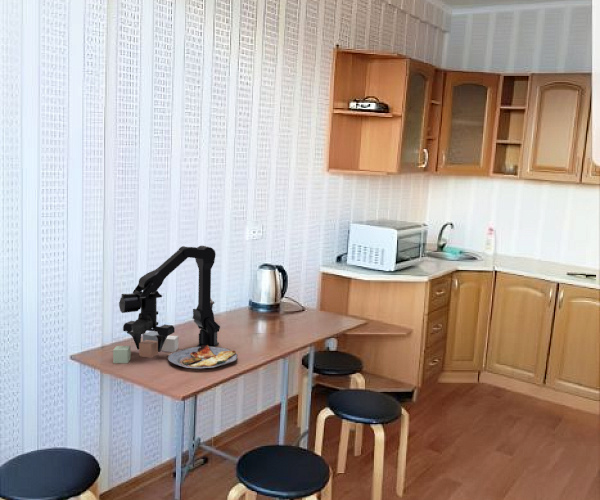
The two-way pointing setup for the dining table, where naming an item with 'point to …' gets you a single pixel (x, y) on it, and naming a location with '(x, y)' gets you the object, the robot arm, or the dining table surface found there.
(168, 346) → the off-white block
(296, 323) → the dining table surface
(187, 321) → the dining table surface
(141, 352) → the terracotta block
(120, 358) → the sage-green block
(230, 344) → the dining table surface
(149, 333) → the slate-grey block
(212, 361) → the food plate
